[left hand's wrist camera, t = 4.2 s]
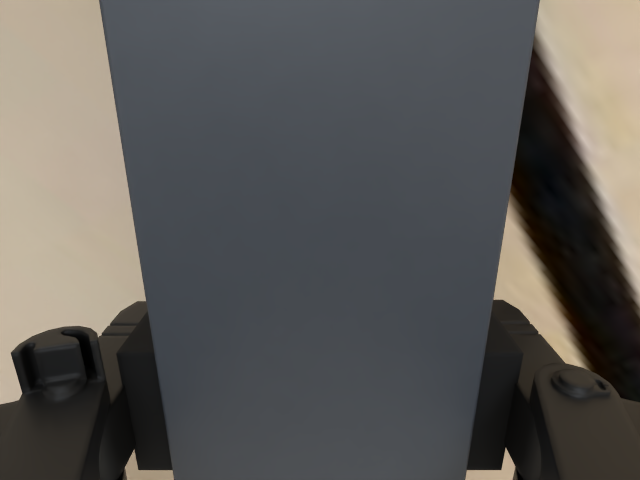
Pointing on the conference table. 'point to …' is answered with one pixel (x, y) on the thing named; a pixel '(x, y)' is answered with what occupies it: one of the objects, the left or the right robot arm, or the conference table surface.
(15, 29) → the conference table surface
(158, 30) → the bar
